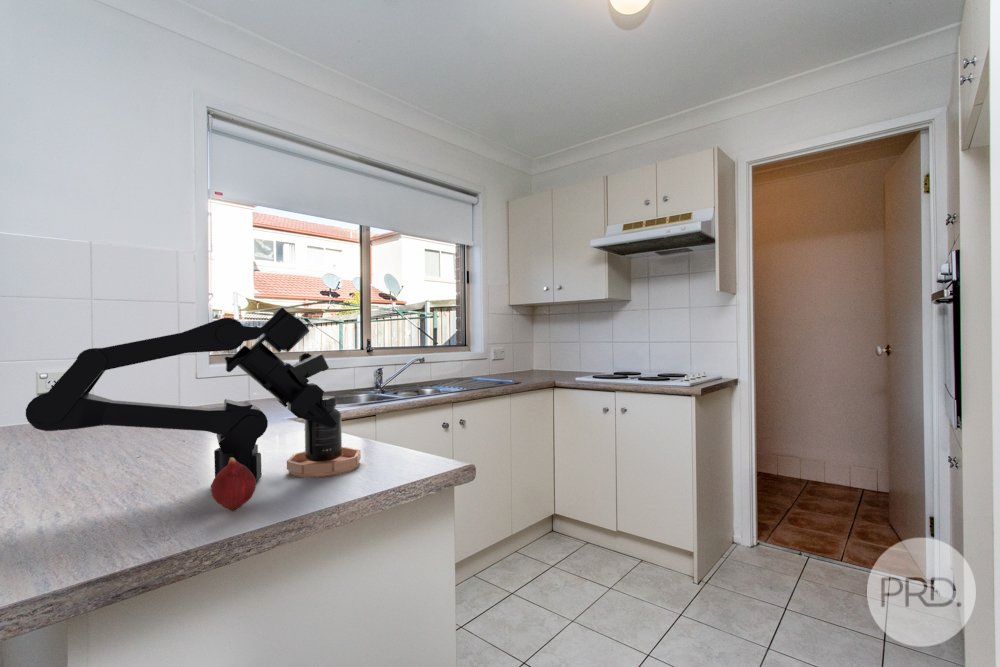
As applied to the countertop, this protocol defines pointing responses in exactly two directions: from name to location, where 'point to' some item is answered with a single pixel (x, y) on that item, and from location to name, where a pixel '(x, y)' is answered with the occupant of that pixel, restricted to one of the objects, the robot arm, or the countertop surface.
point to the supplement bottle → (324, 436)
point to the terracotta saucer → (323, 464)
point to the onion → (233, 485)
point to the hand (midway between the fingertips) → (330, 423)
